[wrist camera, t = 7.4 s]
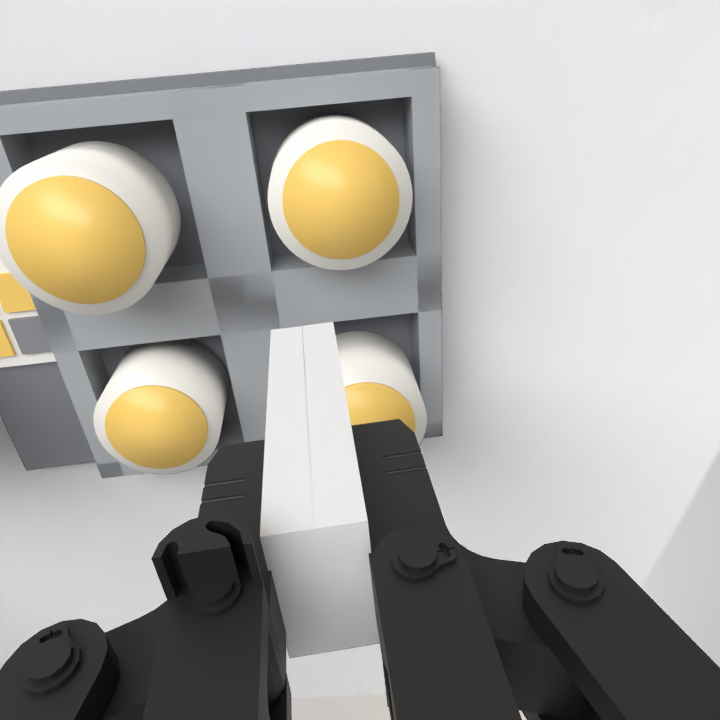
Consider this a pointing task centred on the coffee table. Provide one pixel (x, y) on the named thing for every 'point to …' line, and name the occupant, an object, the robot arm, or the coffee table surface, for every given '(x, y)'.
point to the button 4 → (379, 382)
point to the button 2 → (163, 407)
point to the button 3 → (338, 192)
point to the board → (221, 242)
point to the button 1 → (88, 227)
